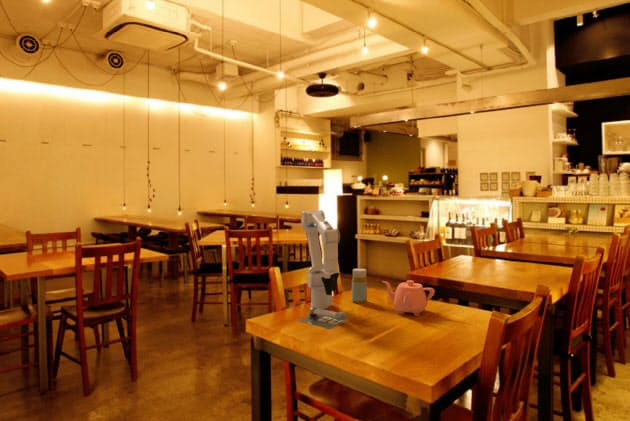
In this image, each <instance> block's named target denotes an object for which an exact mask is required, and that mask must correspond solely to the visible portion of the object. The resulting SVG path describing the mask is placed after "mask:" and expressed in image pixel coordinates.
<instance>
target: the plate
mask: <svg viewBox="0 0 630 421" xmlns="http://www.w3.org/2000/svg"><path fill="white" fill-rule="evenodd" d="M323 317H328V316H323V315H319V314H317V316H309V315H307V316H306V317H303V318H301V319H297V320H296V322H300V323H302V324H303V323H304V324H308V325H312V326H314V327H315V326H316V327H320V328H324V329H327V330H330V329H333V328H335V327H337V326H339V325H342V324H344V323H347V322H349V321H350V319H348V318H345V319H344V320H343V322H340V323H338V324H336V325H335V324H331V323H328V322H329V321H332V320H334V319H336V318H332V317H329V318H332V319H331V320H329V321H326V322H323V321H318V319H320V318H323Z"/></svg>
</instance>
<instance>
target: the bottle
mask: <svg viewBox="0 0 630 421" xmlns="http://www.w3.org/2000/svg"><path fill="white" fill-rule="evenodd" d="M351 301H352V303H353V304H358V303H360V304H361V303H362V304H366V303H367V302H368V278H367V269H365V268H358V267H357V268H353V269H352V279H351Z"/></svg>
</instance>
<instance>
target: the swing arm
mask: <svg viewBox="0 0 630 421" xmlns="http://www.w3.org/2000/svg"><path fill="white" fill-rule="evenodd" d="M308 312H309V313H308V314H309V316H317V314H319V315H323V316H328V317H332V318H336V320H339V321H342V320H344V319H346V312H344V311H339V312H337V311H332V310H327V309H319V308H318V309H317V308H316V307H311V306H310V307H309V311H308Z"/></svg>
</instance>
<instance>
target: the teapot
mask: <svg viewBox="0 0 630 421" xmlns="http://www.w3.org/2000/svg"><path fill="white" fill-rule="evenodd" d="M381 282H382V283H383V284H384V285H385V286H386V289H387V294H388V297H389V299H390V300H391V301H392V303H393V306H394V309H395V310H396V311H398V312H397V314H398V315H405V313H413V316H415V317H420V316H421V313H422V312H424V311H425V309H426V308H427V306H428V301H430V300H431V299H432V297H433V296H434V295H435V292H436V290H435V289H434V288H433V287H424V286H423V285H422V284H421V283H417V282H415V281H414V280H411V279H409V280H406V282H401V283H399V284H398V286H397V288H396V290H395V292H394V291H393V289H392V286H391V284H390V282H389V281H384V280H381ZM426 291H428V292H429V294H428V296H427V294H426Z"/></svg>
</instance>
